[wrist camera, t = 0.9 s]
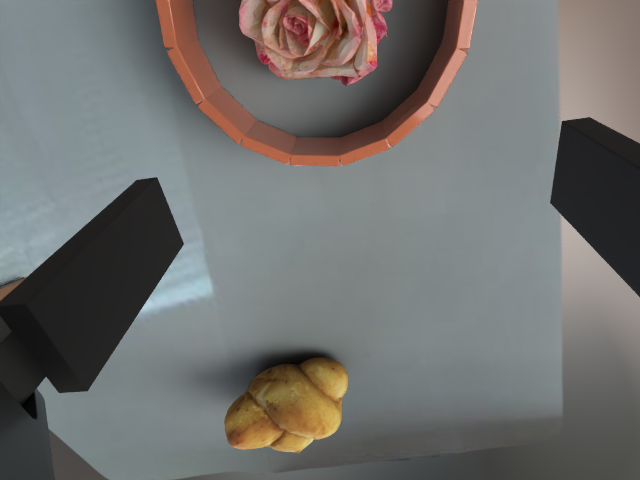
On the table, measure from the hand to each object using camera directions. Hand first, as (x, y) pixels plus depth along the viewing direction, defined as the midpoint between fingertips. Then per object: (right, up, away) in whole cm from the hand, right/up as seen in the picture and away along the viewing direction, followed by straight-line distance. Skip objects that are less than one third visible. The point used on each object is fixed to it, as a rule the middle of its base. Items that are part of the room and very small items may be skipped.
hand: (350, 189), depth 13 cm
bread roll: (-3, -17, +32) cm, 36 cm away
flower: (-1, +13, +13) cm, 18 cm away
